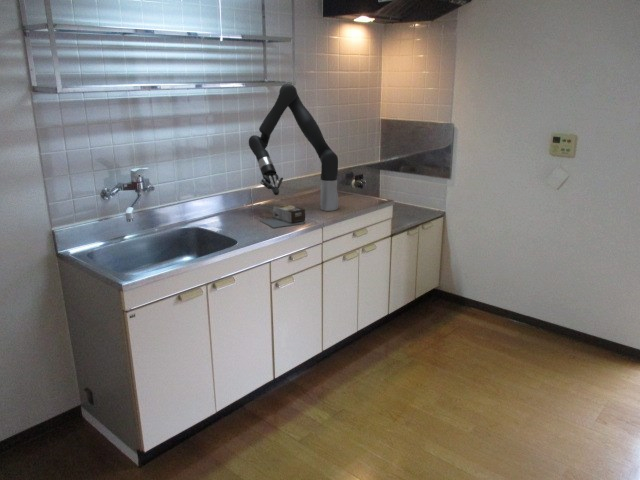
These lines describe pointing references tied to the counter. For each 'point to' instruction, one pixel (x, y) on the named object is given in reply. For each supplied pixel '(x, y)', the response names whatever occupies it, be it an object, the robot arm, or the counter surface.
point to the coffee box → (289, 213)
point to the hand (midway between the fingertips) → (277, 194)
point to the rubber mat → (279, 223)
